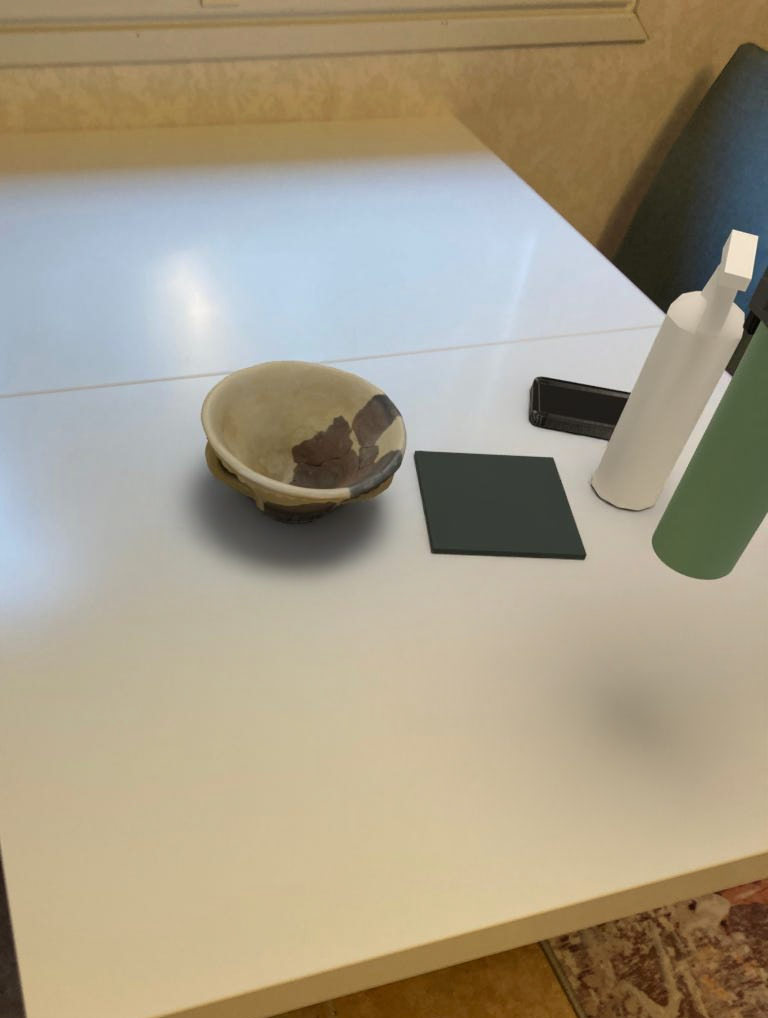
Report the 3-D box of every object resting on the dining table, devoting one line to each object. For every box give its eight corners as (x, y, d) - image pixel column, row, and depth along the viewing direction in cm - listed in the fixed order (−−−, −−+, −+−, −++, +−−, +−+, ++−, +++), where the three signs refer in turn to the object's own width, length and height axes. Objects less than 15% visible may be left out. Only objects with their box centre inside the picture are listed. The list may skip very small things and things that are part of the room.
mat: (551, 461, 93) (553, 457, 92) (584, 559, 84) (587, 554, 83) (413, 455, 92) (414, 450, 91) (432, 553, 83) (433, 548, 82)
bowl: (180, 554, 80) (180, 465, 73) (219, 430, 92) (222, 344, 85) (383, 586, 79) (402, 500, 72) (396, 457, 91) (413, 372, 84)
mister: (709, 520, 63) (862, 245, 49) (749, 576, 60) (927, 299, 45) (614, 528, 62) (743, 248, 47) (650, 586, 58) (801, 303, 44)
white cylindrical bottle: (669, 461, 95) (788, 215, 76) (653, 532, 87) (781, 278, 68) (604, 441, 96) (705, 195, 77) (582, 509, 88) (689, 255, 70)
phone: (533, 374, 101) (672, 399, 100) (530, 383, 102) (668, 408, 101) (531, 415, 96) (678, 442, 95) (528, 425, 97) (674, 451, 95)
